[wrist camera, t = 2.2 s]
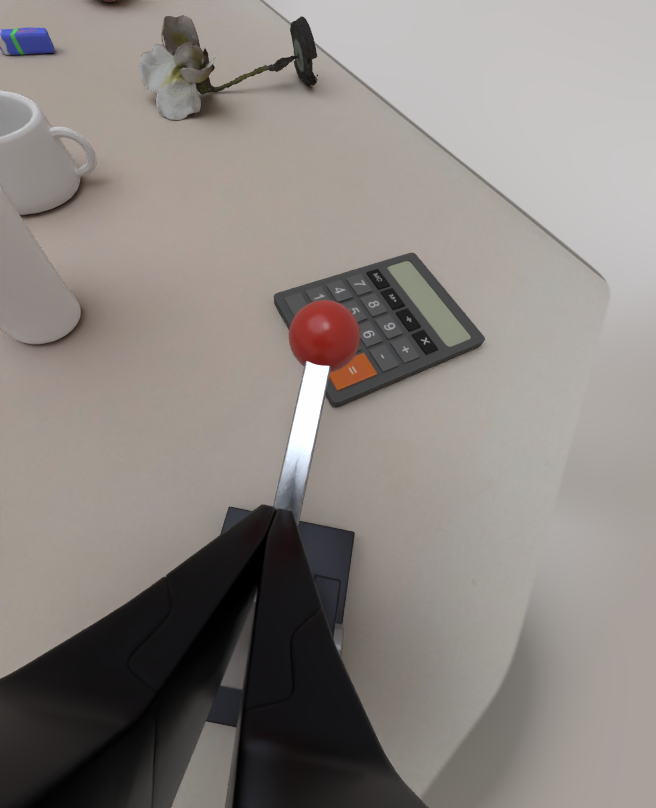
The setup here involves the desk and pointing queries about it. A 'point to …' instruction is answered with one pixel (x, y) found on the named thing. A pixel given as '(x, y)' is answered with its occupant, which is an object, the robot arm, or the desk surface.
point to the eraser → (25, 41)
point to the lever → (304, 420)
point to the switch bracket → (331, 576)
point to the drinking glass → (30, 285)
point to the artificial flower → (205, 66)
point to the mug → (37, 157)
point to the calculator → (388, 323)
